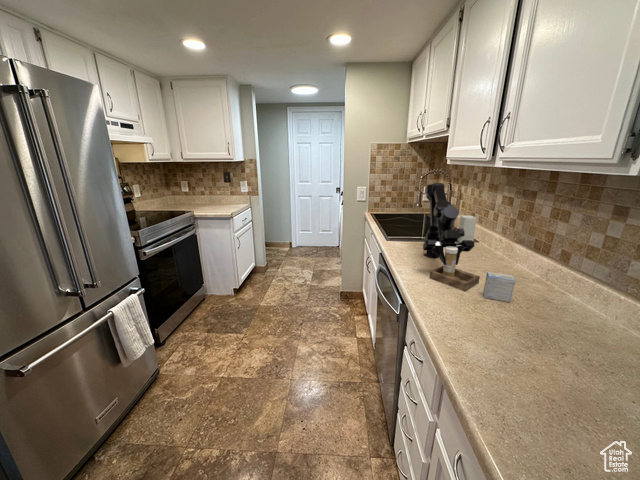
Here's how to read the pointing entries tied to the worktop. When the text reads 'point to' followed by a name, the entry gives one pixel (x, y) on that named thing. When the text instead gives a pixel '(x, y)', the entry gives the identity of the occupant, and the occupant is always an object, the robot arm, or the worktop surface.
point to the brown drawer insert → (462, 283)
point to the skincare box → (467, 227)
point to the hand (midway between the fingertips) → (450, 264)
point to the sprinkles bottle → (450, 261)
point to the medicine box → (499, 286)
